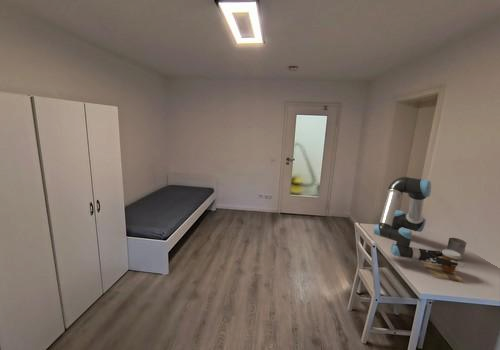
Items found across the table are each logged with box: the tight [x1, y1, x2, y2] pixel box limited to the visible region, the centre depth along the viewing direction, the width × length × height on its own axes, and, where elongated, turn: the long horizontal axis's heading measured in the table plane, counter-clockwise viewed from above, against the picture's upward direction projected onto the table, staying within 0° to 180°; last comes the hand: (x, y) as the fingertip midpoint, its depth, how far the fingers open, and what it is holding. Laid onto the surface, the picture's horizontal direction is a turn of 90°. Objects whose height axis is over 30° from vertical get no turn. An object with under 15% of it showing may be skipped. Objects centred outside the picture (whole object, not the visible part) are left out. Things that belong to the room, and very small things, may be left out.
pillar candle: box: [446, 237, 467, 262], centre depth 168 cm, size 10×10×15 cm
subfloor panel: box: [422, 261, 465, 284], centre depth 151 cm, size 17×16×1 cm
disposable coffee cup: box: [441, 248, 461, 272], centre depth 149 cm, size 10×10×12 cm
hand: (458, 260), depth 147 cm, fingers closed on disposable coffee cup, 8 cm apart
